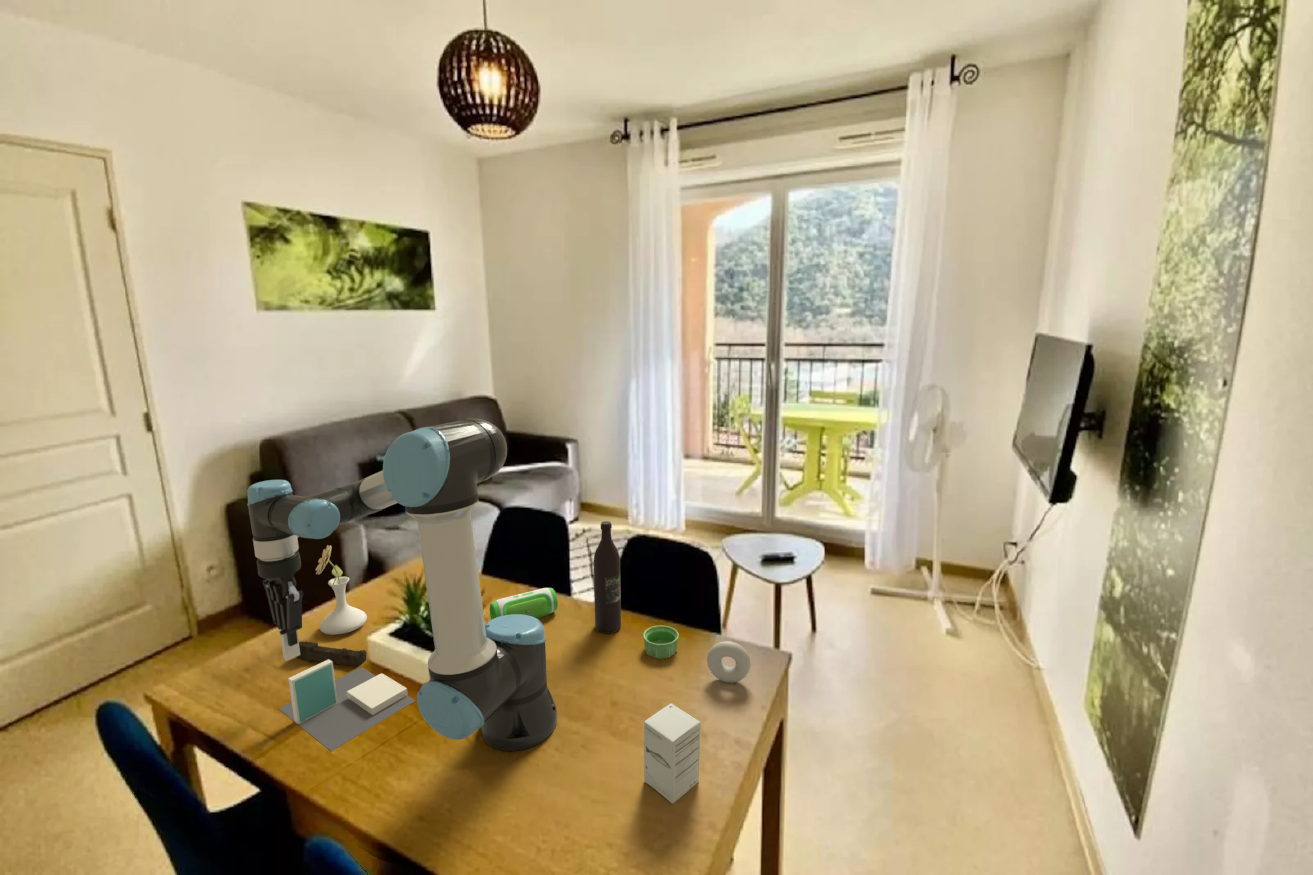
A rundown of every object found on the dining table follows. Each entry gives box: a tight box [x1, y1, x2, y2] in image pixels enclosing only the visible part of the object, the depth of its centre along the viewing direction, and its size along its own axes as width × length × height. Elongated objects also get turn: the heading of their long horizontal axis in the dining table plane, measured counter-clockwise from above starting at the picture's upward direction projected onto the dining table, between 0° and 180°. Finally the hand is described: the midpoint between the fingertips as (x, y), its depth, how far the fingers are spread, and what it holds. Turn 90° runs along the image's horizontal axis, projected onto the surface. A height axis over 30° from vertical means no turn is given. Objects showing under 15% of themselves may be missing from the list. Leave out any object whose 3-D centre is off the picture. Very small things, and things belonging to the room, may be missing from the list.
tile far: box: [347, 672, 409, 715], centre depth 124 cm, size 2×8×10 cm
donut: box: [706, 640, 752, 683], centre depth 130 cm, size 10×4×10 cm, turn 76°
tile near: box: [287, 659, 338, 725], centre depth 119 cm, size 2×8×10 cm, turn 146°
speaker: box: [489, 587, 559, 620], centre depth 158 cm, size 18×7×8 cm, turn 121°
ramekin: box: [642, 624, 680, 659], centre depth 143 cm, size 9×9×4 cm
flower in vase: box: [315, 544, 368, 636], centre depth 151 cm, size 13×11×25 cm
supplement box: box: [643, 702, 701, 805], centre depth 101 cm, size 7×7×13 cm
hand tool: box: [295, 641, 368, 669], centre depth 139 cm, size 19×4×5 cm, turn 77°
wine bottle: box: [593, 520, 622, 634], centre depth 151 cm, size 7×7×30 cm
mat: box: [278, 666, 417, 752], centre depth 122 cm, size 22×18×1 cm
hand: (292, 656), depth 122 cm, fingers closed
